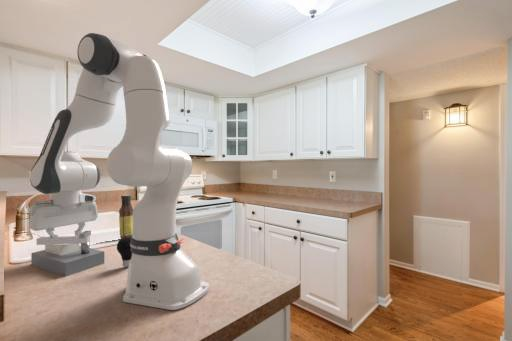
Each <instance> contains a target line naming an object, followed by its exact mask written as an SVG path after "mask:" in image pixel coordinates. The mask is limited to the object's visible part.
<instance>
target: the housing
mask: <svg viewBox="0 0 512 341" xmlns="http://www.w3.org/2000/svg"><path fill="white" fill-rule="evenodd" d="M103 264H105V251H103V250H99V249H95V248H91V247H89V253H87V254H81V245H79V250H78V251H74V252H71V253H67V254H63V255H57V254H53V253H50V252H46V251H45V249H41V250H38V251H34V252H31V266H34V267H37V268H39V269H43V270H46V271H49V272H53V273H54V274H59V275H61V276H64V277H67V276H72V275H73V274H77V273H81V272H83V271H86V270H89V269H91V268H94V267H97V266H100V265H103Z"/></svg>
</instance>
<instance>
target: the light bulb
mask: <svg viewBox="0 0 512 341" xmlns="http://www.w3.org/2000/svg"><path fill="white" fill-rule="evenodd" d="M130 243H131V237H124V238H122V239H121V238H120V240H118V242H117V244H116V250H117V252H118V253H119V255H120V256H121V260H122V266H123V267H125V268H129V264H130V261H131V257H132V252H131V246H130Z"/></svg>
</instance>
